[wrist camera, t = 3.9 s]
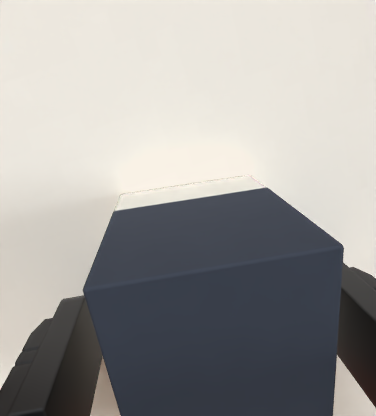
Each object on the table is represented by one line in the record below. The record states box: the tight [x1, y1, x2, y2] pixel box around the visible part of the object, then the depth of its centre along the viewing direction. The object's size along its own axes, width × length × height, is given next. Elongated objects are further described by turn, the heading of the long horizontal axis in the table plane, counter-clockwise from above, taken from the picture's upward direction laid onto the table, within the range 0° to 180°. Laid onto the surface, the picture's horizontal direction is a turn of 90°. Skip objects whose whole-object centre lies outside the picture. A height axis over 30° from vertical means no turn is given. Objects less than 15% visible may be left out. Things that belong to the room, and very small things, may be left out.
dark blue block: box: [83, 175, 344, 416], centre depth 9 cm, size 10×4×5 cm, turn 7°
